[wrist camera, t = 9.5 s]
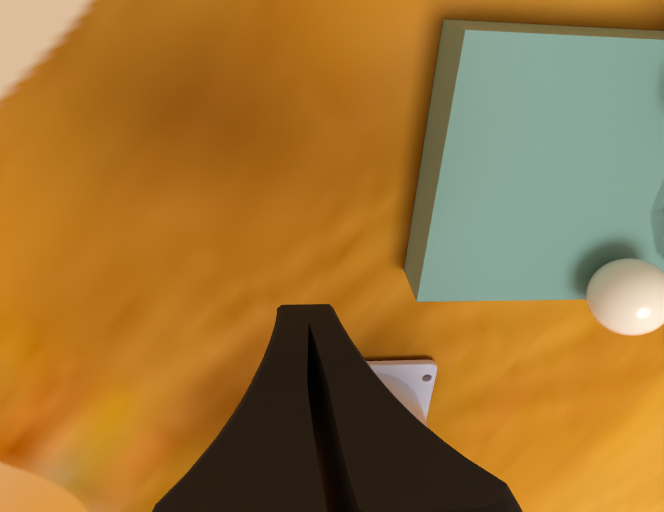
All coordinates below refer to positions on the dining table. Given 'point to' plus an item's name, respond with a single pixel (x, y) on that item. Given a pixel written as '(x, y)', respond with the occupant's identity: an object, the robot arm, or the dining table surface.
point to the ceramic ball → (627, 296)
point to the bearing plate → (538, 161)
